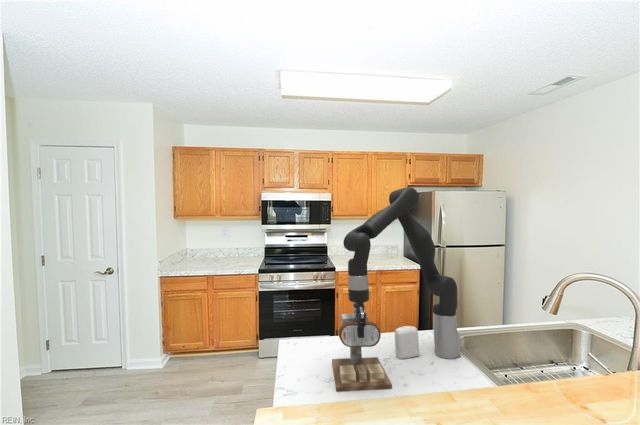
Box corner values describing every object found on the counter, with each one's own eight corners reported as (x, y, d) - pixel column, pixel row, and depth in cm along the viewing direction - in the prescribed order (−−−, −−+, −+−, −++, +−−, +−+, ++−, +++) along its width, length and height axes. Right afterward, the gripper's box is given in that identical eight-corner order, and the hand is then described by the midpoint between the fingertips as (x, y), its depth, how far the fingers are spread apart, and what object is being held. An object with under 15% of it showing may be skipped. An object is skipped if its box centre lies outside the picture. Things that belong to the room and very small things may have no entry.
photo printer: (399, 360, 113) (397, 329, 113) (394, 355, 117) (392, 326, 118) (421, 356, 115) (419, 326, 116) (415, 352, 119) (413, 323, 120)
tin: (380, 344, 99) (378, 320, 101) (382, 347, 96) (380, 322, 98) (339, 345, 99) (338, 321, 100) (339, 348, 96) (339, 323, 97)
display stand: (377, 360, 113) (375, 312, 114) (392, 388, 93) (389, 330, 94) (332, 362, 112) (330, 314, 113) (336, 391, 92) (334, 332, 93)
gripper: (372, 291, 93) (375, 343, 92) (364, 283, 107) (366, 328, 105) (351, 291, 92) (352, 344, 91) (345, 283, 106) (347, 329, 105)
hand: (360, 335), depth 98 cm, fingers closed on tin, 2 cm apart
